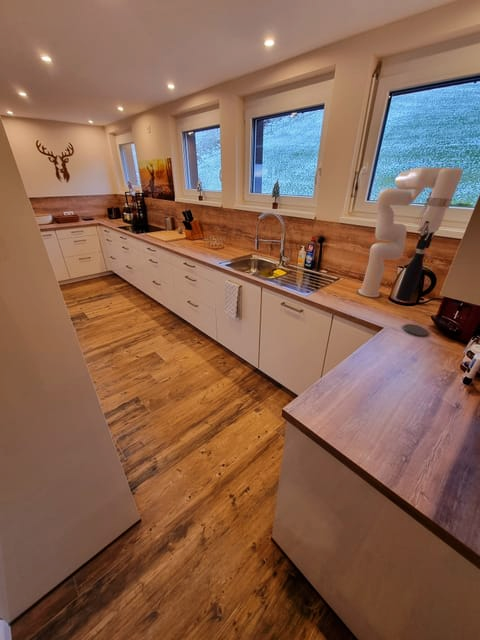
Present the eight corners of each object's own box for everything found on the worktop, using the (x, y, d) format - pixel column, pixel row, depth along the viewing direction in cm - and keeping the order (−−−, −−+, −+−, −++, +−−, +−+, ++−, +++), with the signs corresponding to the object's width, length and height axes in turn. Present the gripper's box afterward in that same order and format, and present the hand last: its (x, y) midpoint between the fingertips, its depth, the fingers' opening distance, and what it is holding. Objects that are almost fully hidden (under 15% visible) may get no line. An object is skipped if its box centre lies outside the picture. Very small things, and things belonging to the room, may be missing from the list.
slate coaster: (409, 323, 133) (409, 322, 133) (430, 332, 126) (431, 330, 126) (399, 329, 128) (400, 327, 127) (421, 338, 121) (422, 337, 120)
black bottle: (407, 302, 124) (432, 237, 109) (393, 298, 128) (416, 234, 113) (412, 299, 127) (437, 235, 113) (398, 294, 132) (421, 233, 117)
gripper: (436, 201, 113) (421, 244, 122) (420, 202, 104) (404, 249, 114) (457, 203, 108) (439, 247, 117) (441, 205, 99) (423, 253, 108)
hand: (422, 247), depth 115 cm, fingers closed on black bottle, 3 cm apart
